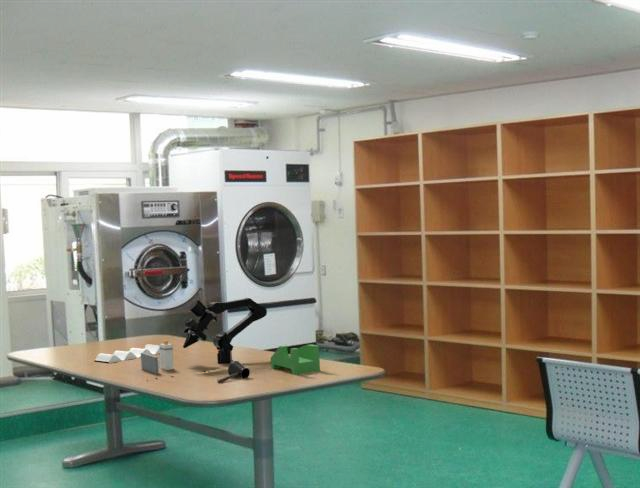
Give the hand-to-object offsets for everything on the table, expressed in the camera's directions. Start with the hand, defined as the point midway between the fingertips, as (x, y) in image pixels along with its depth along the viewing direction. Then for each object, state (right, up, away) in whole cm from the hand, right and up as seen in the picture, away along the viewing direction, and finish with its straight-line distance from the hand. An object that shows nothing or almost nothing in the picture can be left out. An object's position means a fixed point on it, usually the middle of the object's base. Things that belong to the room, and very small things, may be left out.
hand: (183, 347), depth 417 cm
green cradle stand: (+56, -8, -20) cm, 60 cm away
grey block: (-10, -11, -6) cm, 16 cm away
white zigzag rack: (-38, -12, +47) cm, 62 cm away
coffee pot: (+27, -10, -36) cm, 46 cm away
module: (-7, -10, -4) cm, 13 cm away
